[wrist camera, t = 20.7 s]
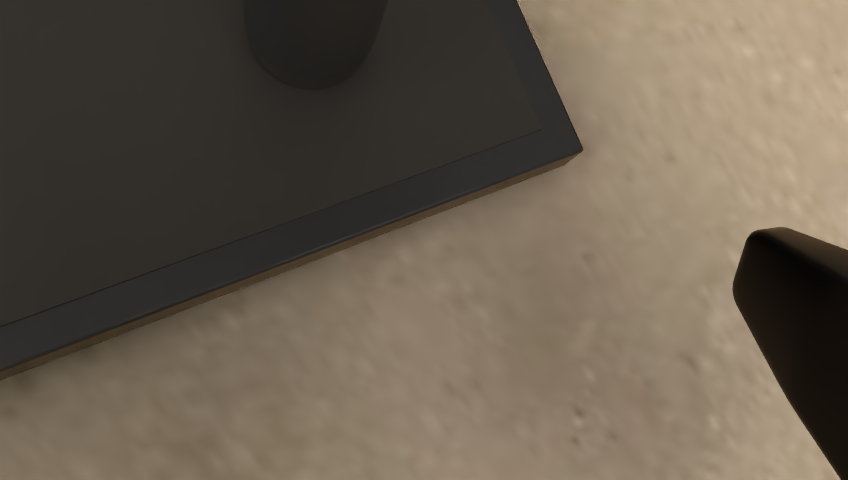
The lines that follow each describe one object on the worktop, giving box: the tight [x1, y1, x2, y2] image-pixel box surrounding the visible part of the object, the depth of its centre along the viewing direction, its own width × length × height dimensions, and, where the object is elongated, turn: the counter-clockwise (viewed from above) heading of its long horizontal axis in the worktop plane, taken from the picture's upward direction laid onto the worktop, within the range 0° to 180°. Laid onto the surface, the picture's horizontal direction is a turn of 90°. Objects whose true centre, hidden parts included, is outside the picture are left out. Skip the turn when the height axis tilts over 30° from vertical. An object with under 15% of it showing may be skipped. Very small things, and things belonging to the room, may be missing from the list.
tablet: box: [0, 0, 583, 380], centre depth 17 cm, size 20×13×1 cm, turn 113°
